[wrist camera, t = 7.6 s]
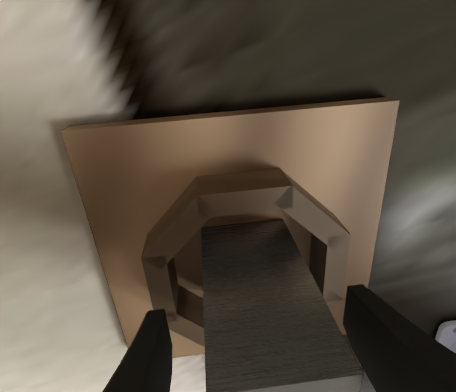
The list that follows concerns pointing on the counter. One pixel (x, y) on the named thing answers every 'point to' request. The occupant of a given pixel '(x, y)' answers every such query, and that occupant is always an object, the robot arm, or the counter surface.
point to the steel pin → (268, 316)
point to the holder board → (230, 198)
